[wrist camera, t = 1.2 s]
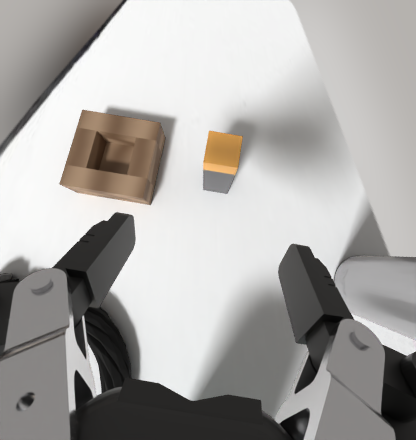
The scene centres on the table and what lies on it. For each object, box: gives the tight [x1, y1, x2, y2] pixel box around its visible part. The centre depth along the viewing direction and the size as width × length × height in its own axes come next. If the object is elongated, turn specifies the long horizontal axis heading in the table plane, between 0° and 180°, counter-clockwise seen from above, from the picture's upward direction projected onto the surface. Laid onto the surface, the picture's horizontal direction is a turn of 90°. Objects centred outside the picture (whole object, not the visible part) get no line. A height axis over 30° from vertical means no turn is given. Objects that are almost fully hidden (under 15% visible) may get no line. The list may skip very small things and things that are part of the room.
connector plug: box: [203, 131, 243, 194], centre depth 27 cm, size 4×4×10 cm
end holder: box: [60, 110, 165, 205], centre depth 30 cm, size 12×12×4 cm
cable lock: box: [0, 273, 131, 393], centre depth 25 cm, size 28×4×30 cm
